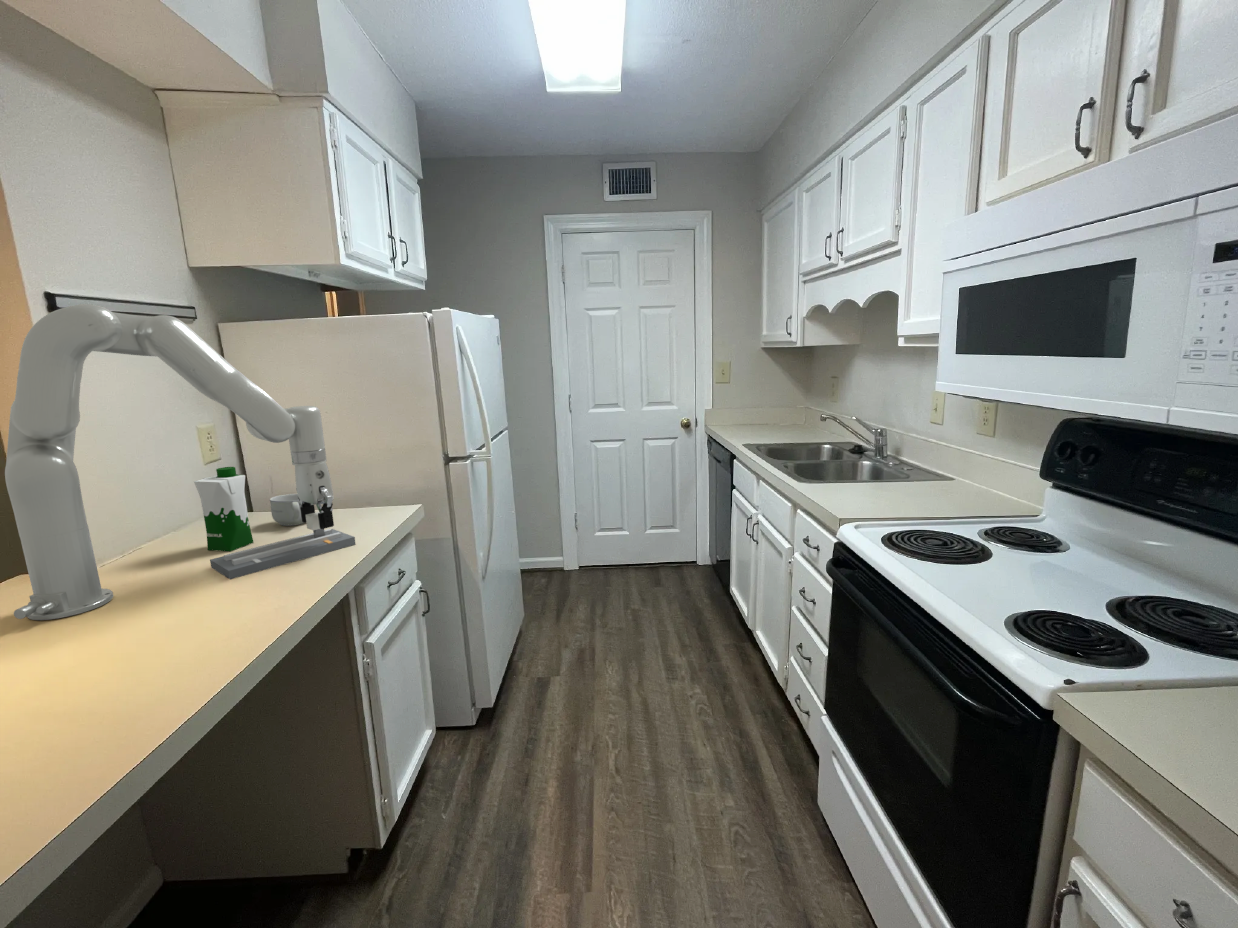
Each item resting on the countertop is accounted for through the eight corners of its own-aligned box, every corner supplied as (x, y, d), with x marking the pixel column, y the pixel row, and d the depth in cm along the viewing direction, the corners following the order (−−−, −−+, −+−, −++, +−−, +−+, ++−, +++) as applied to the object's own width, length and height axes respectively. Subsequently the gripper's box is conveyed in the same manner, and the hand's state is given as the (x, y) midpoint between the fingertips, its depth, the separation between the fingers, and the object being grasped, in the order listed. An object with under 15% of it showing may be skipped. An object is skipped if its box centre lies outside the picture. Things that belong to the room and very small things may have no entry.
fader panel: (230, 579, 127) (227, 566, 127) (211, 567, 135) (209, 555, 134) (355, 544, 148) (354, 533, 148) (333, 536, 156) (331, 525, 155)
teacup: (275, 521, 172) (271, 494, 170) (316, 515, 176) (313, 490, 175) (270, 534, 160) (266, 505, 158) (314, 527, 164) (311, 500, 162)
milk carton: (259, 541, 153) (248, 466, 149) (229, 553, 144) (216, 474, 140) (232, 540, 155) (220, 466, 151) (200, 551, 146) (187, 473, 142)
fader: (314, 541, 145) (311, 516, 143) (308, 539, 147) (305, 514, 145) (330, 537, 148) (327, 512, 146) (324, 534, 150) (321, 511, 148)
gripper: (341, 457, 141) (349, 526, 144) (309, 451, 151) (317, 515, 155) (308, 463, 135) (318, 534, 138) (277, 456, 146) (287, 522, 149)
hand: (317, 524), depth 146 cm, fingers open, 9 cm apart
